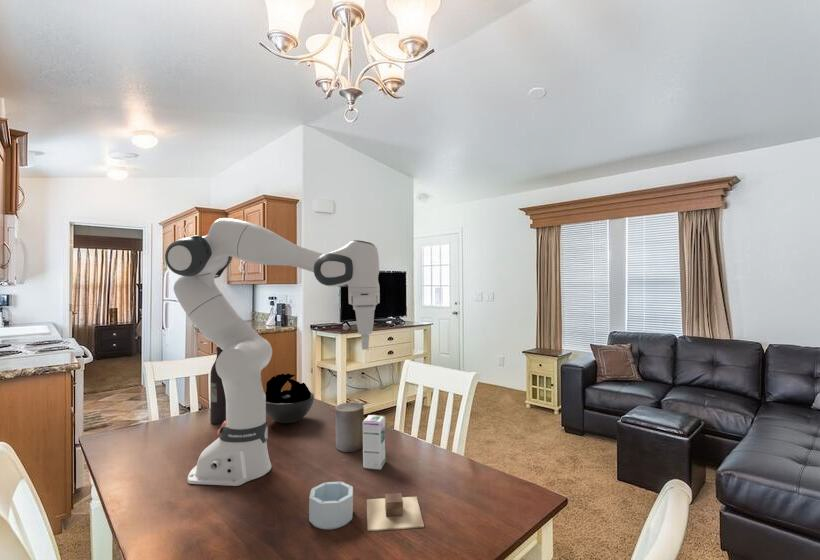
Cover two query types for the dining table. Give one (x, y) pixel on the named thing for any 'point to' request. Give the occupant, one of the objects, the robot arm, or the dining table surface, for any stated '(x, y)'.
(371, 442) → the syrup box
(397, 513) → the lid
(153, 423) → the dining table surface
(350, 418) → the pillar candle
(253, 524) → the dining table surface
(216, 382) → the wine bottle
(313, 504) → the bowl
